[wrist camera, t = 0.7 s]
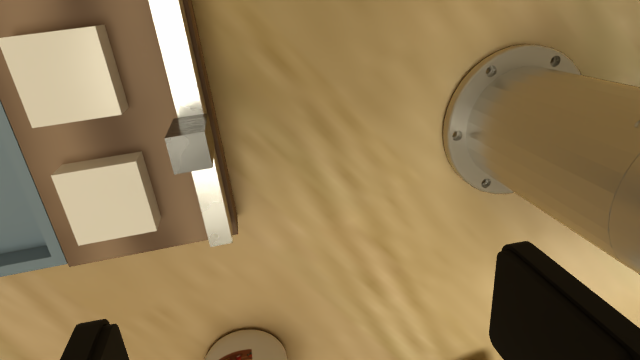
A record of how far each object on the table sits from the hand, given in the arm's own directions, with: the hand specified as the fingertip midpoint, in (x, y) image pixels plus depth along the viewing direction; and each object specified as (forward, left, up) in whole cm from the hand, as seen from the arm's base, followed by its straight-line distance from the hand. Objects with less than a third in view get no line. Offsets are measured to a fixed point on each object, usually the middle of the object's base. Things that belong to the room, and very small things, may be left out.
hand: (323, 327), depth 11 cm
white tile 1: (+11, -5, -21) cm, 24 cm away
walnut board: (+9, -1, -24) cm, 26 cm away
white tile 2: (+11, +3, -21) cm, 24 cm away
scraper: (+4, -1, -20) cm, 21 cm away
